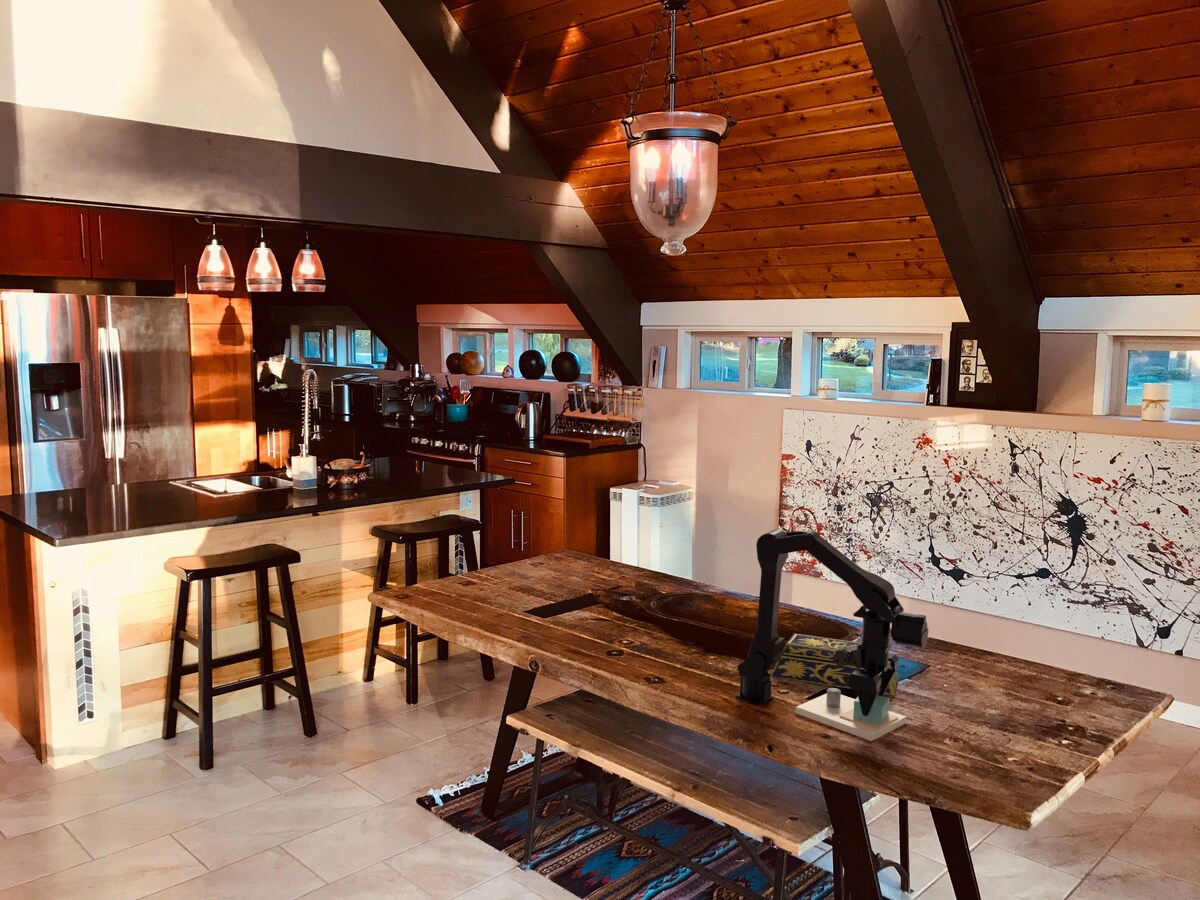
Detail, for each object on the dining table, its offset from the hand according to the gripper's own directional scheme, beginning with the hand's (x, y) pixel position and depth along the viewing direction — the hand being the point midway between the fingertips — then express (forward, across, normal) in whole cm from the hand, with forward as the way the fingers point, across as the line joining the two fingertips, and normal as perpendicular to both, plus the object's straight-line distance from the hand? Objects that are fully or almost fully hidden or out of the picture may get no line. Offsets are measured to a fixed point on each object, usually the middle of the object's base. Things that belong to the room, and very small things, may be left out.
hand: (871, 708), depth 207 cm
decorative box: (+4, -23, -15) cm, 28 cm away
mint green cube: (+2, 0, 0) cm, 2 cm away
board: (+4, -1, -5) cm, 6 cm away
